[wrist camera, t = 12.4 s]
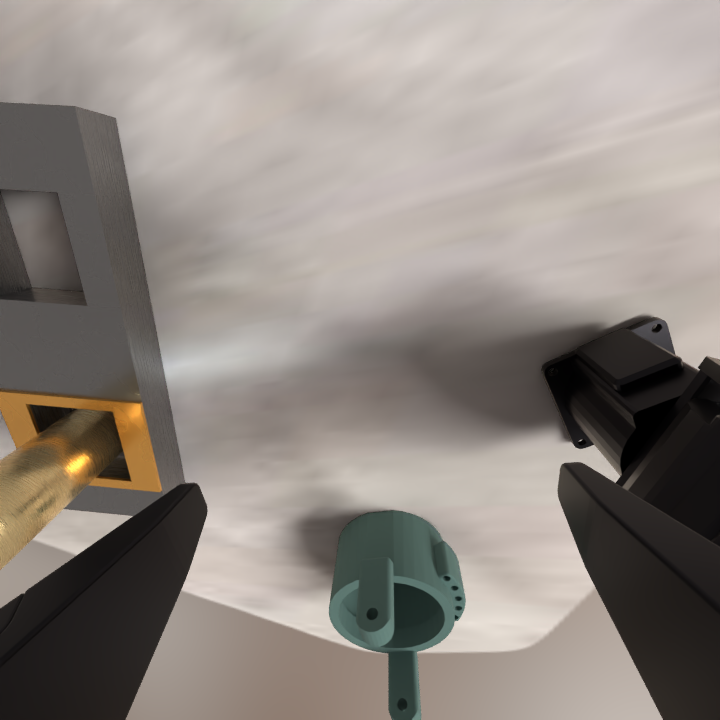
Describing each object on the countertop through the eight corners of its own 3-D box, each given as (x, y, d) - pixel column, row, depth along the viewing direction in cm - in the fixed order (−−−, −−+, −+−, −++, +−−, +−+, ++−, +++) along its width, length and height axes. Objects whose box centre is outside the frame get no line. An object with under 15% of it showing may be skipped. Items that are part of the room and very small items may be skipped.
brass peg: (149, 418, 25) (-66, 620, 13) (126, 453, 26) (-86, 663, 14) (95, 384, 24) (-188, 568, 12) (74, 422, 25) (-196, 619, 14)
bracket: (400, 598, 31) (407, 741, 23) (313, 548, 29) (285, 685, 21) (476, 543, 28) (515, 687, 20) (383, 482, 26) (383, 614, 18)
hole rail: (-61, 108, 18) (-133, 94, 15) (115, 117, 17) (70, 105, 15) (72, 481, 28) (42, 509, 25) (186, 492, 27) (167, 521, 25)
